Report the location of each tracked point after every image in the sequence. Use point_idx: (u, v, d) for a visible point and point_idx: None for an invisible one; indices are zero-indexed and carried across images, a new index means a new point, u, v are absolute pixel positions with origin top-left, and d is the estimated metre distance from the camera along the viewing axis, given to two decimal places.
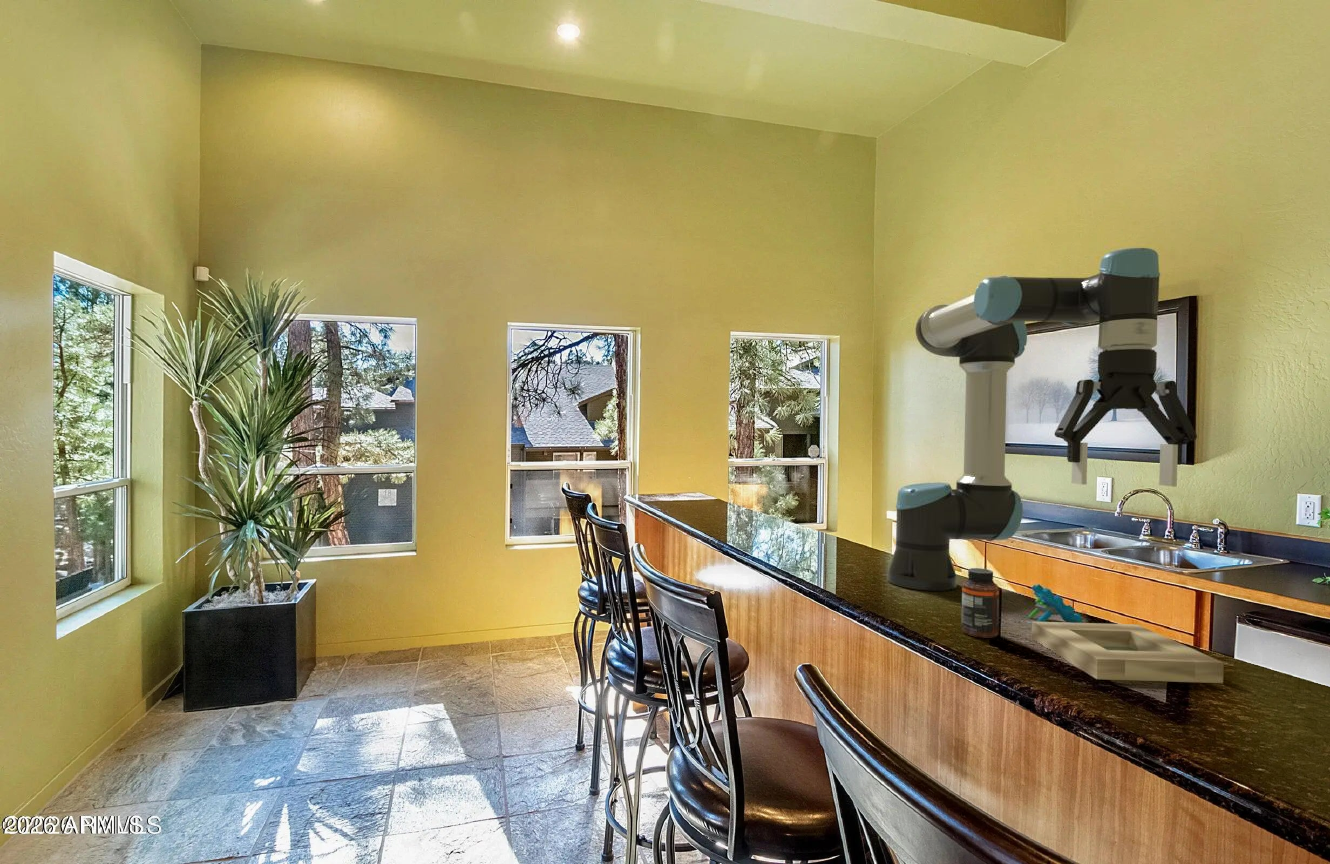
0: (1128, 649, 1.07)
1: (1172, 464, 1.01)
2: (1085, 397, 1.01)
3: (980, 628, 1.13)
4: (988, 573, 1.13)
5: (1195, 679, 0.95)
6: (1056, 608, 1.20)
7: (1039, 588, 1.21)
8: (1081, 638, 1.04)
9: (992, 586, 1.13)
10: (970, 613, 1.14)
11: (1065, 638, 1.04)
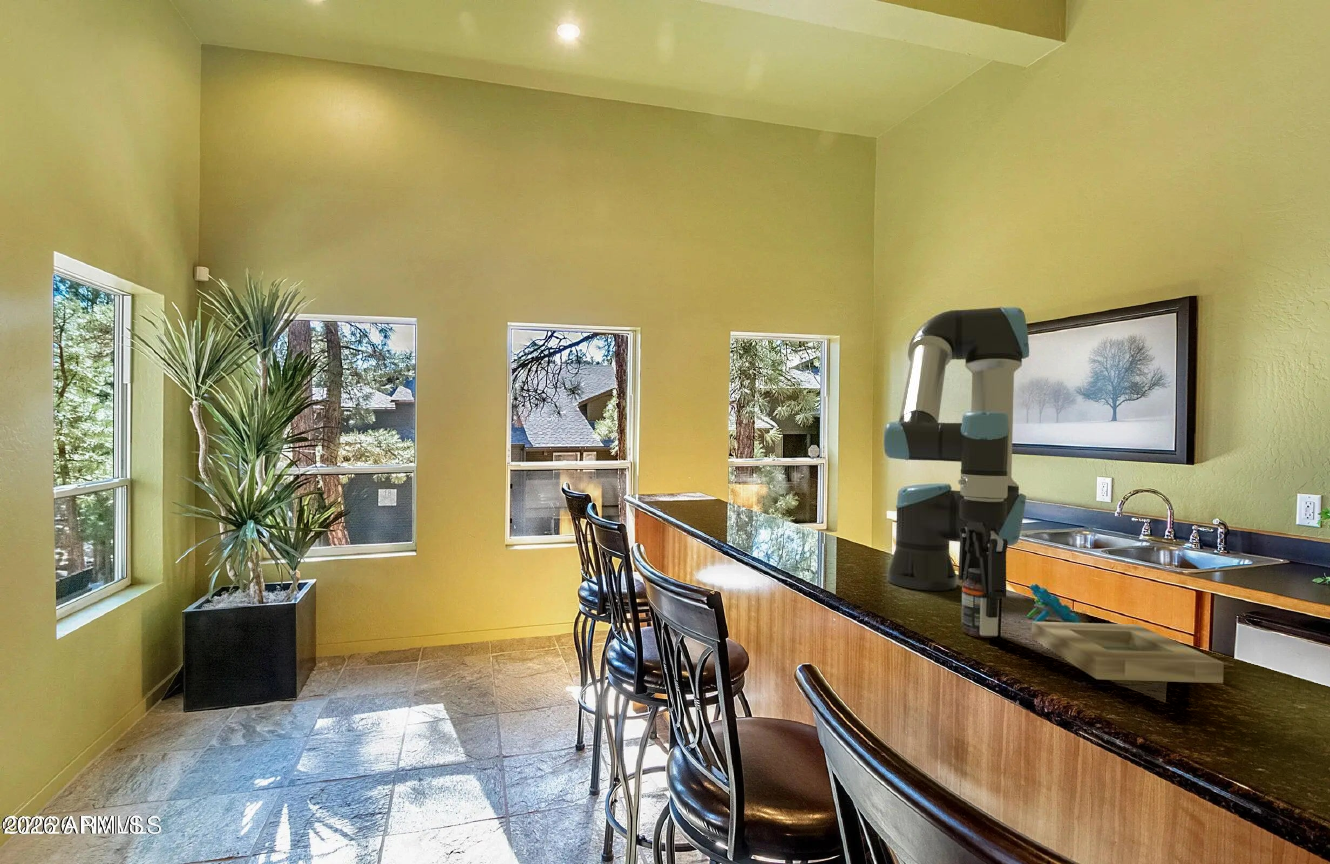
0: (1128, 649, 1.07)
1: None
2: (960, 543, 1.21)
3: None
4: None
5: (1195, 679, 0.95)
6: (1053, 608, 1.21)
7: (1036, 588, 1.22)
8: (1081, 638, 1.04)
9: None
10: (970, 612, 1.14)
11: (1065, 638, 1.04)
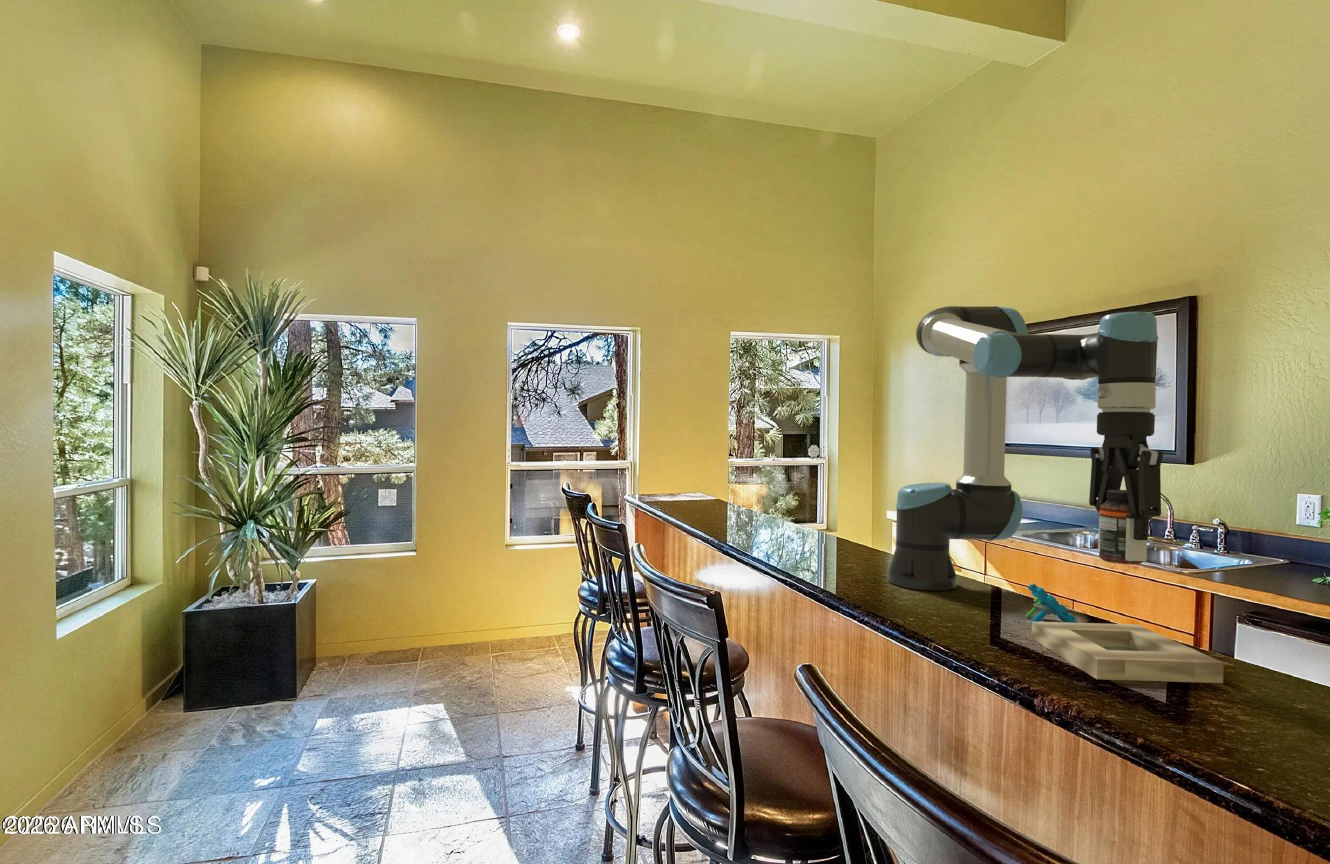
0: (1128, 649, 1.07)
1: None
2: (1093, 465, 1.09)
3: None
4: None
5: (1195, 679, 0.95)
6: (1051, 608, 1.21)
7: (1034, 587, 1.22)
8: (1081, 638, 1.04)
9: None
10: (1113, 537, 1.02)
11: (1065, 638, 1.04)
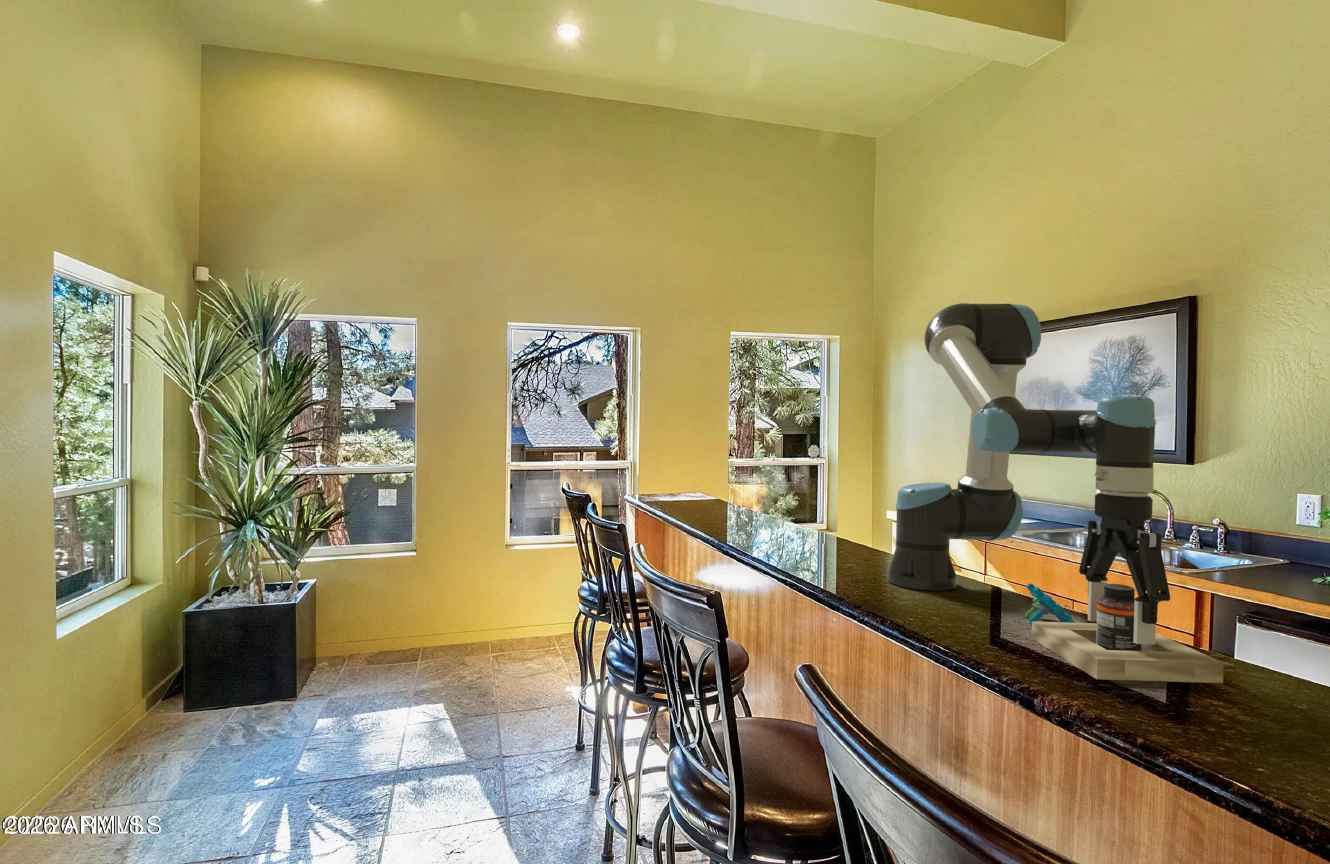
0: None
1: None
2: (1088, 537, 1.10)
3: None
4: (1130, 590, 1.02)
5: (1195, 679, 0.95)
6: (1048, 607, 1.21)
7: (1031, 587, 1.22)
8: (1081, 638, 1.04)
9: None
10: (1110, 634, 1.02)
11: (1065, 638, 1.04)
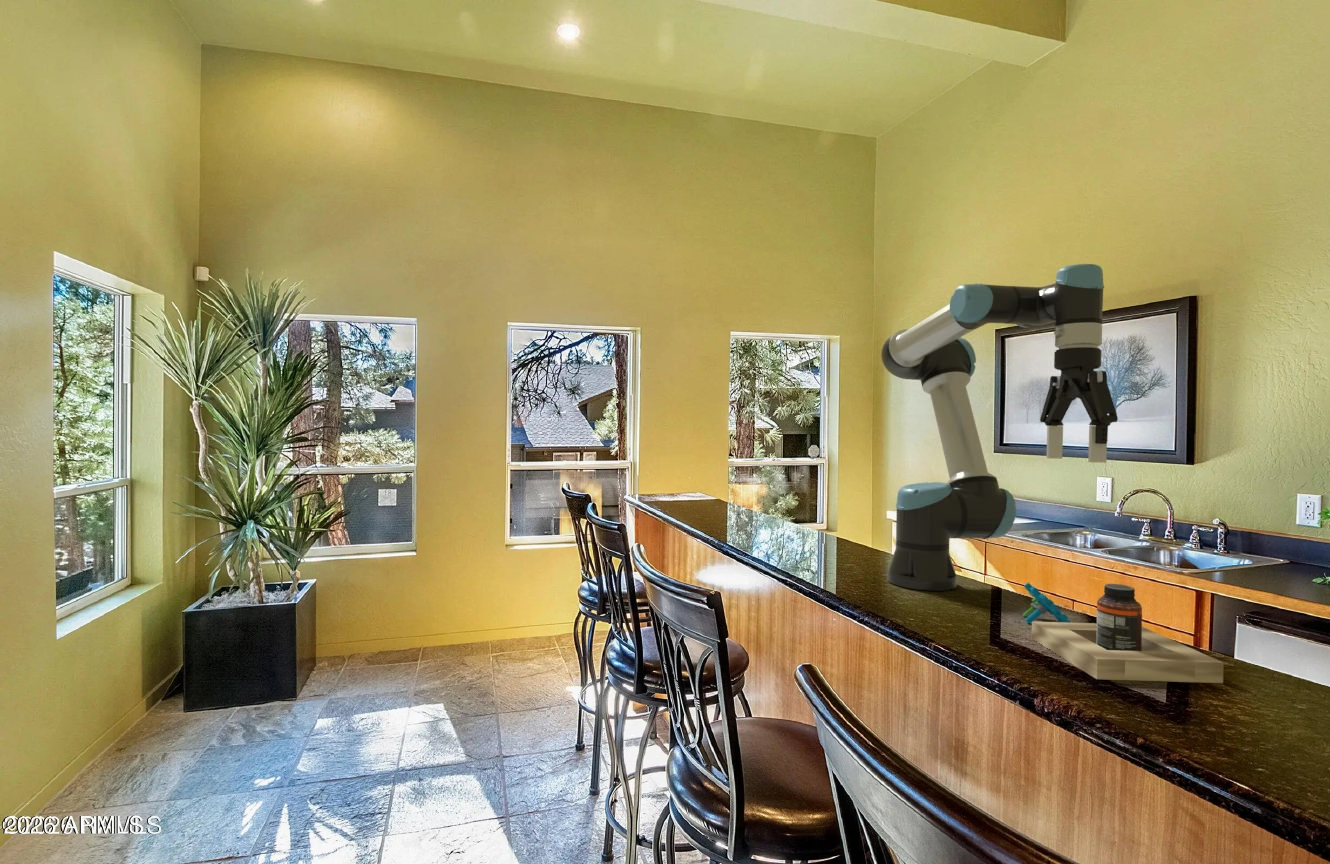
0: None
1: None
2: (1049, 390, 1.30)
3: None
4: (1130, 590, 1.02)
5: (1195, 679, 0.95)
6: (1045, 607, 1.21)
7: (1028, 586, 1.22)
8: (1081, 638, 1.04)
9: (1135, 604, 1.01)
10: (1110, 634, 1.02)
11: (1065, 638, 1.04)
